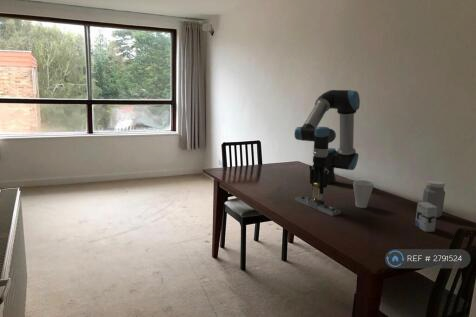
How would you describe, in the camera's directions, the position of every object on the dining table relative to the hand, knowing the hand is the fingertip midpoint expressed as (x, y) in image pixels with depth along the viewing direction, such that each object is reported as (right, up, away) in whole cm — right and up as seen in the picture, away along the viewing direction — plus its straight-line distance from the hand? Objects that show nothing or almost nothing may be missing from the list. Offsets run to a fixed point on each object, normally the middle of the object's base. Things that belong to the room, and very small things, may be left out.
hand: (317, 198), depth 194 cm
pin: (0, -2, 0) cm, 2 cm away
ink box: (+45, -12, -26) cm, 53 cm away
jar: (+58, -8, -7) cm, 59 cm away
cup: (+25, -5, +4) cm, 26 cm away
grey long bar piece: (0, -5, +1) cm, 5 cm away
